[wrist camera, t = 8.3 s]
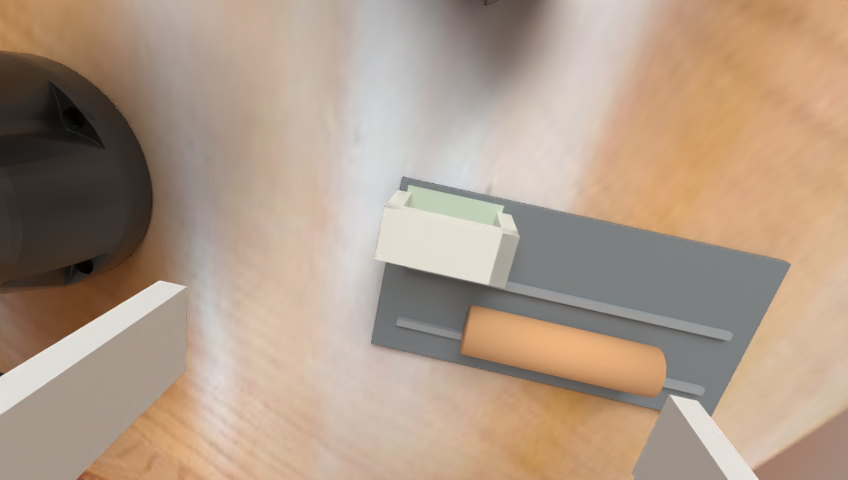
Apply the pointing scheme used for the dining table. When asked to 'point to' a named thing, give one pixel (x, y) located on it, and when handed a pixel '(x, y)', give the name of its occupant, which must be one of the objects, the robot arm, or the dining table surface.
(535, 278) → the guide mat
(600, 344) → the tan cylindrical rod
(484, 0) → the tube
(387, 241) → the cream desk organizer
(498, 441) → the dining table surface
